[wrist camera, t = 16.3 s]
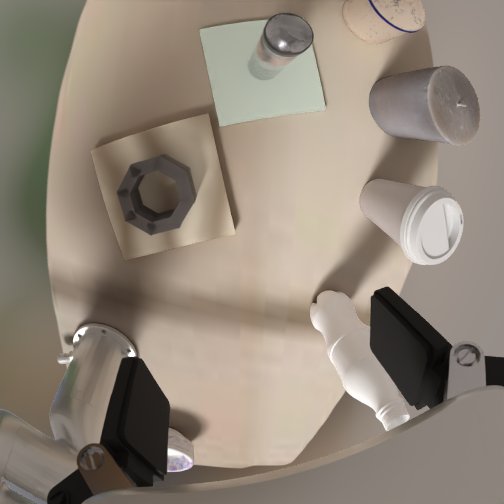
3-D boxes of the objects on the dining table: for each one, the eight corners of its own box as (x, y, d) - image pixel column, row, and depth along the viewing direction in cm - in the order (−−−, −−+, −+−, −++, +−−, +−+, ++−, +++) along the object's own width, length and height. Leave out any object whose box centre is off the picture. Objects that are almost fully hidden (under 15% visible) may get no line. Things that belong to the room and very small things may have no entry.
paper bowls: (148, 411, 52) (144, 439, 45) (205, 433, 58) (206, 460, 50) (124, 433, 56) (120, 458, 49) (175, 452, 61) (174, 476, 54)
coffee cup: (399, 226, 42) (459, 265, 29) (349, 231, 42) (404, 277, 28) (403, 168, 39) (471, 190, 25) (350, 168, 38) (415, 190, 24)
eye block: (127, 256, 39) (116, 273, 34) (94, 149, 32) (77, 152, 27) (234, 230, 39) (237, 244, 34) (208, 114, 33) (207, 109, 28)
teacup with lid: (392, 53, 31) (441, 38, 20) (339, 35, 30) (381, 9, 19) (389, -5, 26) (431, -27, 16) (339, -23, 25) (373, -56, 15)
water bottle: (323, 278, 44) (405, 398, 21) (353, 294, 46) (435, 403, 23) (297, 312, 46) (355, 441, 23) (329, 326, 48) (391, 441, 25)
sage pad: (219, 127, 34) (219, 126, 33) (199, 31, 28) (199, 29, 27) (323, 110, 34) (326, 110, 33) (302, 20, 28) (304, 17, 28)
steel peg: (244, 54, 29) (260, 14, 17) (276, 50, 29) (307, 12, 17) (250, 83, 31) (270, 55, 19) (283, 78, 31) (318, 52, 19)
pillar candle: (416, 82, 33) (484, 75, 19) (419, 140, 37) (488, 151, 23) (365, 72, 32) (430, 53, 19) (369, 136, 36) (437, 143, 22)
